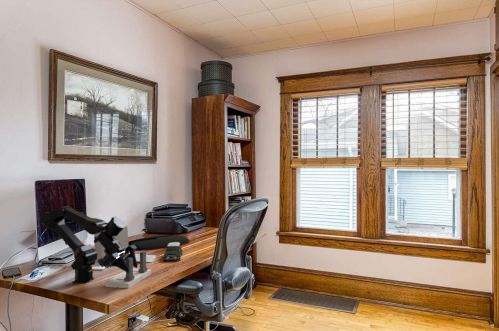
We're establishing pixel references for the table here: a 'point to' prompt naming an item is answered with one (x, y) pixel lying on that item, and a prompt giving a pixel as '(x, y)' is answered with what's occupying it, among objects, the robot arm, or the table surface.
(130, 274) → the lever
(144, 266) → the on breaker
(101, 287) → the table surface
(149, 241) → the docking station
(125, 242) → the electrical switch box
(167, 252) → the miniature car
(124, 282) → the breaker panel
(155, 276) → the table surface
